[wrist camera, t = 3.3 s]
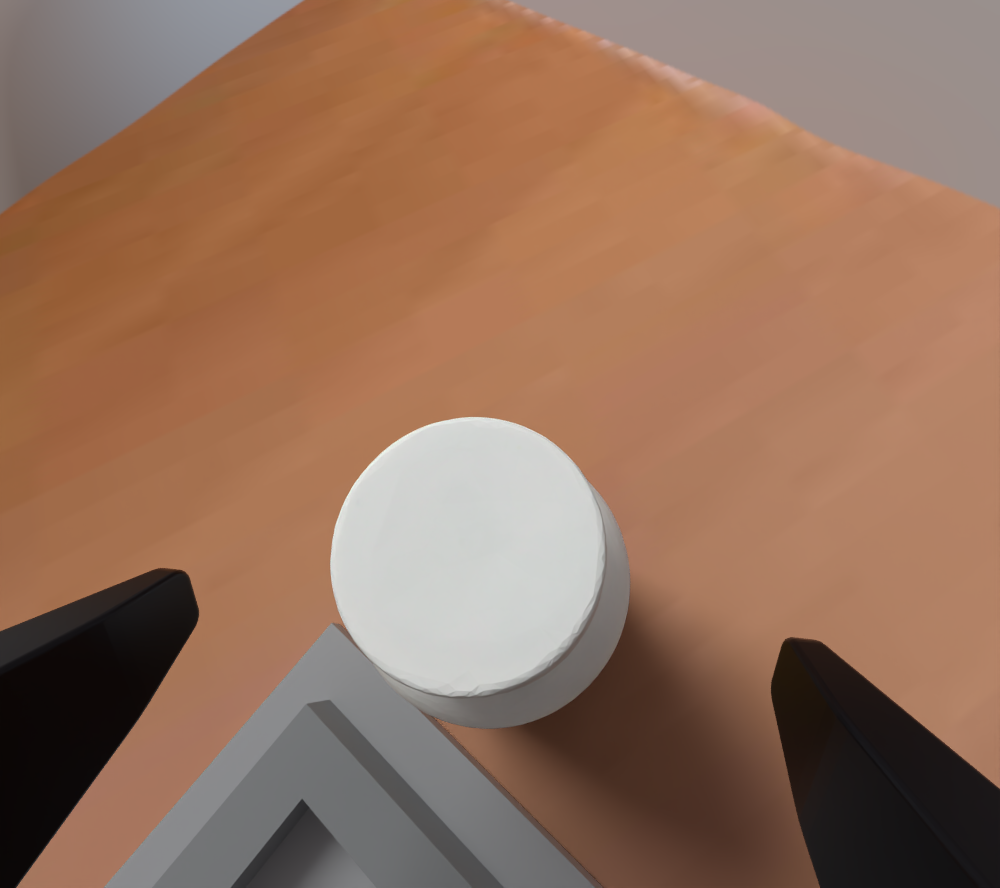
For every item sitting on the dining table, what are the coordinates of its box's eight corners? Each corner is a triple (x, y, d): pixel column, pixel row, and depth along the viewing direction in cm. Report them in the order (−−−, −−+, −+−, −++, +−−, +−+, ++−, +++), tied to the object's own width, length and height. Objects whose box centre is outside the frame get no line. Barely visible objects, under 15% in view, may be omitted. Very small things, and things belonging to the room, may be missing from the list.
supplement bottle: (399, 642, 16) (202, 626, 7) (481, 493, 18) (401, 329, 9) (557, 737, 15) (549, 860, 6) (631, 565, 16) (715, 456, 7)
